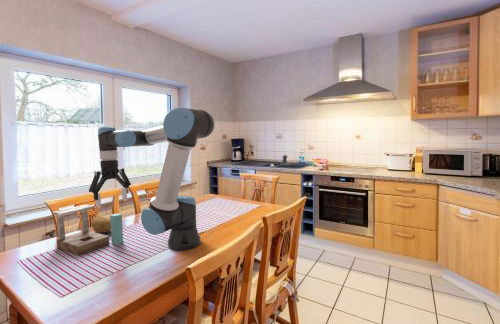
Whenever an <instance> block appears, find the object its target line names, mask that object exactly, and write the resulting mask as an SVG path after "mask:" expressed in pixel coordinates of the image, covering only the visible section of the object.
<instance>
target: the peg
mask: <svg viewBox="0 0 500 324" xmlns="http://www.w3.org/2000/svg"><path fill="white" fill-rule="evenodd" d="M109 219H110V221H111V230H110V233H111V234H110V236H111V244H112V243H113V244H112V245H115V244H116V245H115V246H118V245H121V244H122V243H124V232H123V229H124V228H123V215H122V214H121V213H118V212H117V213H114V214H110V215H109ZM117 244H118V245H117Z"/></svg>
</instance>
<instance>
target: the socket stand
mask: <svg viewBox="0 0 500 324" xmlns="http://www.w3.org/2000/svg"><path fill="white" fill-rule="evenodd" d="M92 209H94V206H93V205H90V204H83V205H78V206H75V207H69V208H64V209H61V210H56V211H53V212H52V214H53V215H55V216H56V228H57V238H56V247H57V249H60V250H62V251H66V252H68V253H70V254H73V253H74V255H77V256H82V255H84V254H87V253H91V252H92V250H93V251H95V250H97V249H100V247H101V248H103V247H106V246H108V244H109V245H110V236H109V235H106V234H103V233H99V232H96V231H91V230H89V218H88V215H89V214H88V211H89V210H92ZM76 213H80V216H81V217H80V218H81V229H82V231H79V232H77V233H73V234H71V235H67V236H66V230H65V218H64V216H67V215H70V214H76Z"/></svg>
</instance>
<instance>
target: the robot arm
mask: <svg viewBox="0 0 500 324" xmlns="http://www.w3.org/2000/svg"><path fill="white" fill-rule="evenodd" d="M214 129H215V120H214V118H213V116H212V115H211V113H209V112H208V111H206V110H203V109H194V108H188V107H174V108H172V109H171V110H170V109H169V111H168V112H167V113H166V114H165V116H164V118H163V121H162V125H160V126H157V127H152V128H148V129H145V130H144V129H143V130H130V129H129V130H128V129H122V130H117V129H116V127H115V126H99V127H98V129H97V138H98V139H97V140H98V150H99V159H100V161H99V162H100V170H99V171H98V170H95V171H94V176H93V179H92V182H91V184H90V187H89V189H88V193H92V194H93V200H94V201H95V207H97V208H101V207H102V200H101V192H99V191H101V190H102V187H103V186H104V184H105V183H106V182H107V181H108V180H116V181H117V182H118V183H119V184H120V186H121V197H122V198H121V199H122V201H125V202H126V201H128V193H129V190H128V188H129V187H130V186H132V183H131V181H130V179H129V178H128V176H127V174H126V171H125V168H124V167H123V168H122V167H119V160H118V158H119V157H118V148H129V147H145V146H146V147H150V146H154V145H156V144H161V143H166V142H167V143H168V146H167V150H166V154H165V158H164V162H163V164H162V165H163V166H162V169H161V174H160V179H159V182H158V186H157V190H156V193H155V196H153V197H151V199H150V202H149V205H148V206H149V207H146V208H144V209H143V210H141V213H140V221H141V224H142V226H143V229H144V230H145V231H146V232H147V233H148V234H150V235H152V236H153V235H154V236H156V235H159V234H160V235H161V234H163V233H165V232H167V231H170V232H169V237H168V239H167V247H168V249H170V250H173V251H189V250H192V249H195V248H197V247H199V246H200V245H201V242H202V241H201V237H200V236H201V235H199V234H200V233H199V231H198V228H197V204H196V203H197V202H196V198H195V197H194V196H191V195H190V196H189V195H179V193H180V189H181V186H182V183H183V178H184V174H185V172H186V171H185V170H186V167H187V163H188V160H189V156H190V152H191V150H192V149H194V148H195V147H196V146H197V142H198V139H204V138H208V137H209V136H211V135H212V133H213V131H214Z"/></svg>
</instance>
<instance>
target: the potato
mask: <svg viewBox="0 0 500 324" xmlns="http://www.w3.org/2000/svg"><path fill="white" fill-rule="evenodd" d="M90 226H91V228H92V230H93V232H95V233H99V234H103V233H108V232H109V231H111V221H110V218H108V217H105V216H95V217H93V218H92V219H91V222H90Z"/></svg>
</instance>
